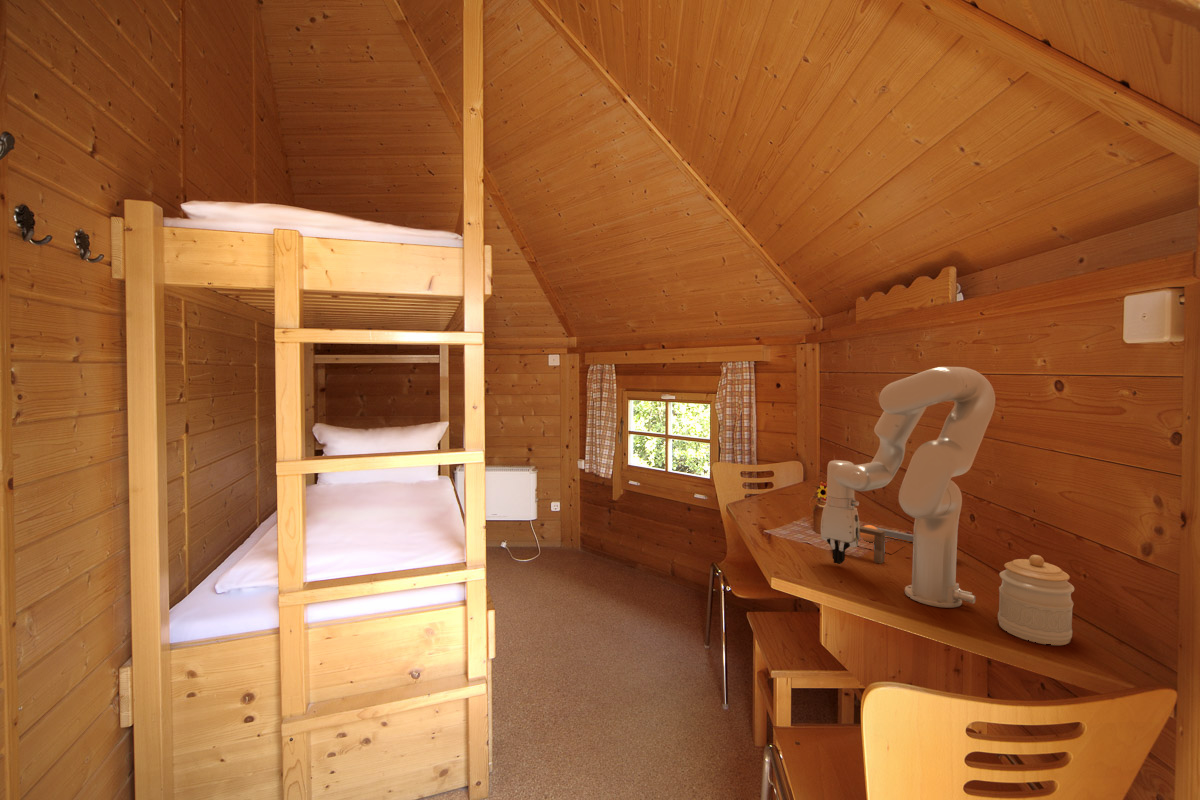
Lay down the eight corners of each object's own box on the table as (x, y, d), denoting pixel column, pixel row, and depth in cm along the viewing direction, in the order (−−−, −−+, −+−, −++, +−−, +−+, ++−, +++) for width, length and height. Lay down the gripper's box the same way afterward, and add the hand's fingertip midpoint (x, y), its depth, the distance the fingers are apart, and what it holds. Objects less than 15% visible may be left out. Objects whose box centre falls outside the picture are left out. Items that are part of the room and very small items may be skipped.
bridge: (835, 550, 175) (836, 521, 175) (884, 562, 164) (885, 531, 163) (831, 552, 173) (832, 522, 172) (880, 564, 162) (881, 533, 161)
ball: (883, 533, 184) (879, 524, 181) (877, 548, 182) (874, 539, 178) (865, 528, 188) (861, 519, 185) (859, 542, 186) (855, 534, 183)
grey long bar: (917, 542, 183) (917, 535, 183) (915, 544, 182) (915, 536, 182) (869, 532, 195) (869, 525, 195) (866, 533, 194) (867, 526, 194)
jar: (996, 614, 128) (999, 542, 127) (1067, 629, 120) (1071, 553, 120) (998, 635, 117) (1001, 557, 117) (1076, 653, 110) (1080, 569, 109)
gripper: (871, 504, 155) (869, 566, 156) (821, 496, 166) (819, 553, 167) (861, 508, 150) (859, 572, 151) (810, 499, 161) (808, 559, 162)
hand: (838, 562), depth 159 cm, fingers closed
